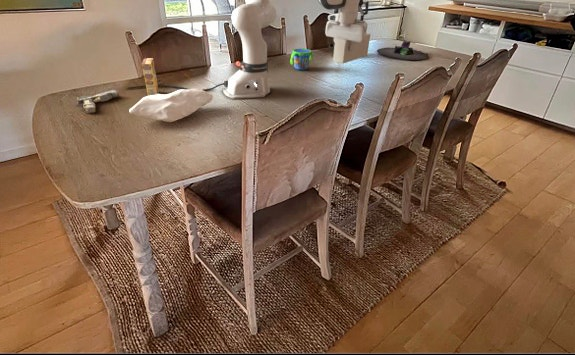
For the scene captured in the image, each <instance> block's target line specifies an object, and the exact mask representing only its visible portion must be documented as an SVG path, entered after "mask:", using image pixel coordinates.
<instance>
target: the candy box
mask: <svg viewBox="0 0 575 355" xmlns="http://www.w3.org/2000/svg"><path fill="white" fill-rule="evenodd" d="M141 66H142V73H143V78H144V82H145V85H146V87H145V88H146V92H147V96H150V95H156V94H159V91H160V90H159V86H158V85H159V84H158V79H157V73H156V66H155V62H154V58H153V57H151V58H150V57H149V58H146V57H145V58H143V60H142V63H141Z"/></svg>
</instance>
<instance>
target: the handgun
mask: <svg viewBox="0 0 575 355" xmlns="http://www.w3.org/2000/svg"><path fill="white" fill-rule="evenodd" d="M119 96H120V94H119V92H118V91H117V90H116V89H112V90H108V91H105V92H104V91H103V92H101V93H96V94H94V95H86V94H85V95H84V94H83V95H81V96H80V97H77V98H76V101H77V104H78V105H82V108H83V109H84V110H85V113H87V114H91V113H95V112H96V104H95V103H98V102H106V101H109V100H111V99H113V98H117V97H119Z"/></svg>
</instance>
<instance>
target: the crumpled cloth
mask: <svg viewBox="0 0 575 355" xmlns="http://www.w3.org/2000/svg"><path fill="white" fill-rule="evenodd" d="M213 97H214V96H213V94H212V93H210V92H208V91H204V90H203V89H201V88H188V89H182V88H180V89H177V90H175V91H173V92H171V93H167V94H163V93H158V94H156V95H150V96H148V95H146V96H144V97H142V98H141V99H140V100H139V101H138V102H137V103H136V104H134V105H133V106H132V107H131V108H129V114H130V115H135V116H140V117H145V118H146V119H149V120H152V121H155V120H158V121H163V122H166V123H174V122H176V121H178V120H181V119H183V118H185V117H188V116H190V115H192V114H193V113H195V112H196V111H197V110H199V109H200V108H202V107H204V106H206V105H207V104H210V102H211V101H212V100H213V99H214V98H213Z"/></svg>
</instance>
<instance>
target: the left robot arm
mask: <svg viewBox="0 0 575 355" xmlns="http://www.w3.org/2000/svg"><path fill="white" fill-rule="evenodd" d="M244 1H245V3H243V4H241V5H239V6H237V7H236V8H234V9H233V10H232V12H231V23H232V26H233V27H234V29H235V30H236V31H237V32H238V34H239V37H240V40H241V44H242V59H243V60H242V61H236V62H235V65H236V66H237V67H239V69H237V71H236V72H235V73H234V74H232V75H231V76H230V77H229V78H228V80H224V81H223V83H219V84H217V85H215V86H213V87H210V88H203V89H202V90H204V91H206V92H208V91H211V90H214V89H216V88H218V87H220V86H224V88H223V91H222V92H223V94H224V95H225V96H226V97H228V98H230V99H233V100H236V99H237V100H238V99H239V100H240V99H253V98H254V99H255V98H264V97H266V95H268V94H269V93H270V92H271V88H270V84H269V78H268V76H269V75H268V72H269V61H268V44H267V42H266V41H265V40H264V37H263V34H262V33H263V32H262V29H264V28H268V27H269V26H271V25H272V24H273V23H274V22H275V20H276V17H277V11H276V8H275V6H274V4H272V3H271V1H270V0H244ZM359 1H360V0H317V2H318V3H319V5H320V6H322V8H324V9H325V10H328V11H332V10H333V11H334V9H338V8H339V11H338V13H335V14H334V13H332V14H329V15H328V16H327V20H328V21H326V25H325V31H324V34H325V36H326V37H329V38H333V42H335V38H337V37H338V38H343V39H348V40H349V41H351V44H352V45H351V46H350V47H348V51H352V50H353V46H354V45H355V44H356V42H359V43H362V42H364V41H365V40H366V33H367V29H368V23H367V22H366V20H363V21H361V20H360V19H358V15H359V10H358V4H359ZM158 87H167V88H169V87H170V88H177V89H189V88H187V87H183V86H177V85H171V84H170V85H169V84H158ZM139 88H146V84H145V85H136V86H128V87H126V89H127V90H130V89H131V90H132V89H139Z"/></svg>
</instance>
